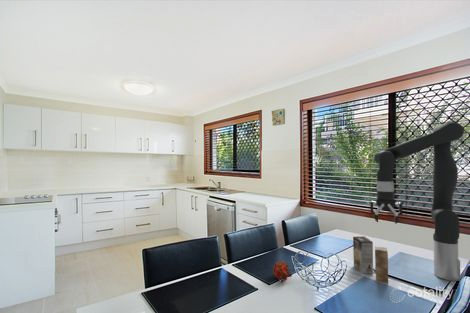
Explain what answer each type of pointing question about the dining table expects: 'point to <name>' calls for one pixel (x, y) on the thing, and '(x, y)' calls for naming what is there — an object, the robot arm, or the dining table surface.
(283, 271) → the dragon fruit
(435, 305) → the dining table surface
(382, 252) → the walnut pillar
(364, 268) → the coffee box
